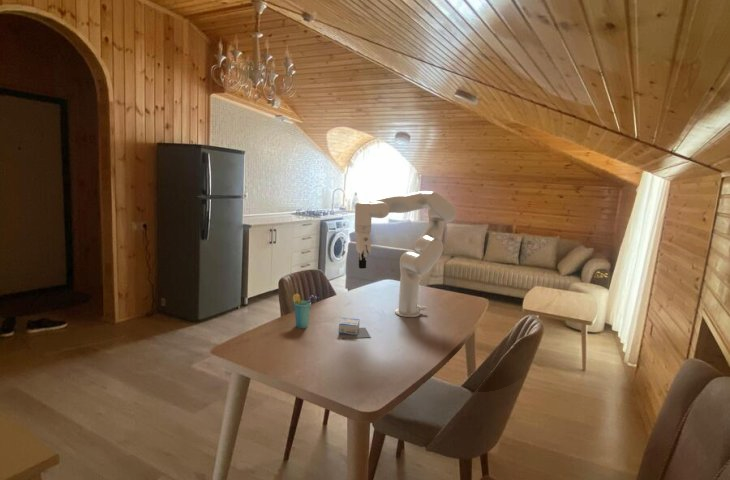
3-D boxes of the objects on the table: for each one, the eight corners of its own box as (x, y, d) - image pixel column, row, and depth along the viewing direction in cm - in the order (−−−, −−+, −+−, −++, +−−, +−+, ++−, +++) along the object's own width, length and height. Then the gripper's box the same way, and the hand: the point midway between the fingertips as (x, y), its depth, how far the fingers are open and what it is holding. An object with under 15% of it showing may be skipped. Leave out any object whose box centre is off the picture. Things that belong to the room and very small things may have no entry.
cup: (321, 326, 175) (323, 294, 173) (312, 332, 168) (313, 298, 166) (295, 320, 180) (296, 289, 178) (285, 326, 173) (286, 293, 171)
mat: (365, 328, 176) (365, 327, 176) (370, 337, 165) (370, 337, 165) (338, 329, 173) (338, 328, 173) (342, 338, 162) (342, 338, 162)
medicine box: (359, 318, 174) (357, 325, 165) (359, 328, 174) (356, 335, 166) (342, 317, 174) (338, 323, 166) (341, 327, 175) (338, 334, 166)
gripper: (375, 231, 174) (374, 271, 177) (366, 226, 189) (366, 264, 191) (358, 231, 172) (358, 272, 175) (351, 227, 187) (351, 264, 190)
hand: (362, 267), depth 183 cm, fingers closed
